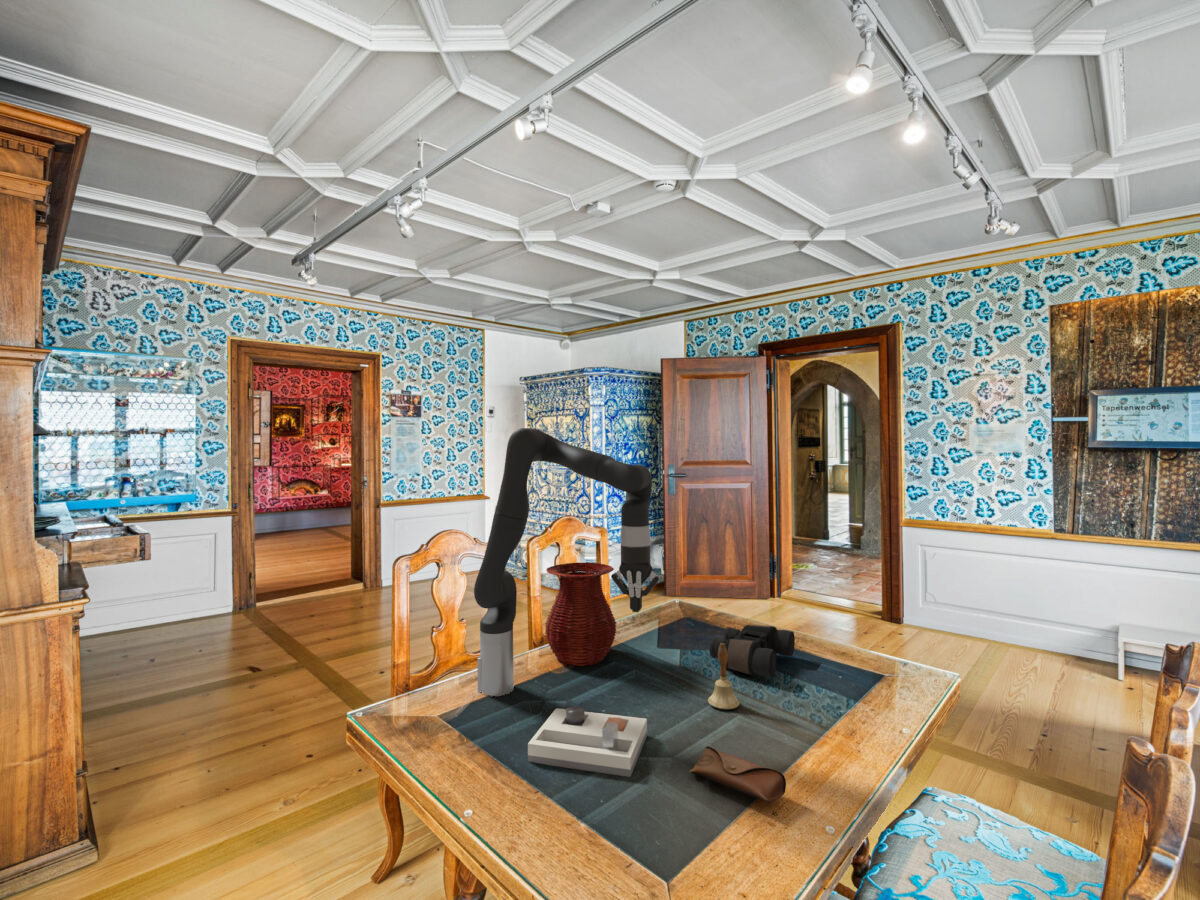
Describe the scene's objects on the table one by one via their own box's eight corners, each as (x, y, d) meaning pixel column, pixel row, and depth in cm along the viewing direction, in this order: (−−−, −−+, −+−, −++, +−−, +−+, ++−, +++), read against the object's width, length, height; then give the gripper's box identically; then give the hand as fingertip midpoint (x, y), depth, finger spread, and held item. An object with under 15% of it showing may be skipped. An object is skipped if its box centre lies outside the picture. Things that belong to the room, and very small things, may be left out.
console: (527, 762, 124) (527, 743, 124) (556, 724, 142) (556, 708, 142) (630, 777, 118) (630, 757, 118) (647, 735, 135) (646, 718, 135)
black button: (563, 724, 134) (563, 713, 134) (569, 715, 138) (569, 705, 138) (581, 726, 133) (581, 715, 133) (586, 717, 137) (586, 707, 137)
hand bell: (740, 710, 148) (739, 649, 148) (707, 708, 150) (707, 647, 150) (738, 697, 156) (738, 639, 156) (708, 695, 158) (707, 637, 158)
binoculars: (770, 685, 164) (769, 650, 164) (703, 671, 176) (703, 638, 176) (795, 655, 188) (795, 625, 188) (735, 644, 200) (735, 616, 200)
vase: (575, 643, 202) (574, 559, 203) (630, 656, 189) (629, 566, 189) (530, 663, 183) (529, 570, 184) (588, 679, 170) (587, 579, 170)
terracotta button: (604, 736, 131) (604, 724, 131) (609, 727, 135) (609, 716, 136) (622, 738, 130) (622, 727, 130) (627, 729, 134) (627, 718, 134)
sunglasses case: (685, 770, 117) (695, 737, 120) (698, 781, 121) (707, 748, 125) (770, 802, 106) (778, 765, 109) (781, 813, 110) (789, 776, 113)
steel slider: (602, 756, 122) (602, 730, 122) (607, 747, 126) (607, 722, 126) (613, 758, 122) (613, 732, 122) (617, 749, 125) (617, 723, 125)
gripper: (606, 544, 143) (606, 613, 142) (658, 546, 139) (658, 617, 138) (614, 540, 150) (615, 605, 150) (663, 541, 146) (664, 609, 146)
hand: (636, 611), depth 144 cm, fingers closed
